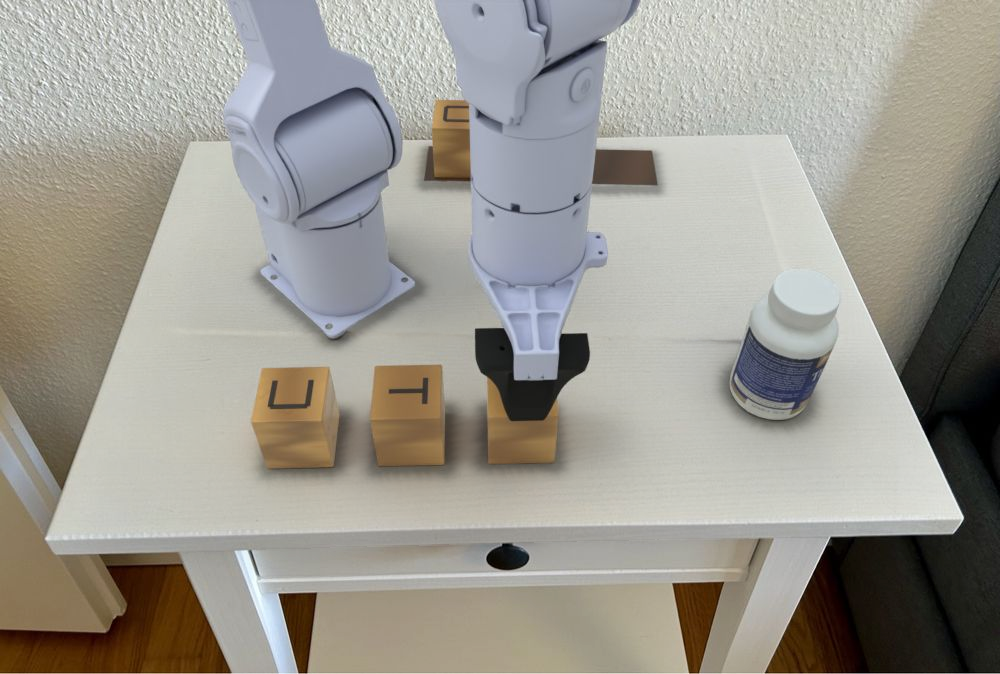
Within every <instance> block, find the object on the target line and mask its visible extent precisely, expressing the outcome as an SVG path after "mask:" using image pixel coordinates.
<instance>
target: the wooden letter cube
mask: <svg viewBox="0 0 1000 674" xmlns="http://www.w3.org/2000/svg"><path fill="white" fill-rule="evenodd" d="M558 402H559V401H558V397H557V398H556V400H555V402H554V405H553V407H552V409H551V410H550V412H549V414H548V416H547V417H546V419H545V420H543V421H510V420H509V418H508V416H507V414H506V412H505V409H504V406H503V403H502V400H501V397H500V394H499V391H498V389H497V387H496V385H495V384H494V383H493V382H492V380H490V379H489V378H488V377H487V376H486V421H487V427H486V428H487V460H488V461H487V462H488V465H503V464H506V465H507V464H508V465H510V464H552V463H553V464H554V463H555V458H556V449H557V437H558V428H559V419H560V413H559V403H558Z"/></svg>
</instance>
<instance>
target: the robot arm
mask: <svg viewBox="0 0 1000 674" xmlns="http://www.w3.org/2000/svg"><path fill="white" fill-rule="evenodd" d="M641 1H642V0H434V6H435V9H436V13H437V17H438V19H439V22H440V25H441V28H442V30H443V32H444V35H445V37H446V39H447V41H448V43H449V45H450V47H451V50H452V53H453V56H454V61H455V72H456V85H457V86H458V87H459V89H460V90H461V91H460V92H461V97H462V98H463V99H462V100H465V101H466V102H468V103H469V121H470V162H471V182H470V206H471V235H470V238H469V240H468V246H467V247H468V250H467V251H468V261H469V266H470V268H471V270H472V273H473V274H474V276H475V278H476V280H477V283H478V284H479V285H480V287H481V289H482V291H483V293H484V294H485V297H486V298H487V300H488V302H489V304H490V305H491V307H492V309H493V311H494V313H495V315H496V316H497V318H498V320H499V322H500V324H501V326H502V327H481V328H479V327H476V328H474V357H475V363H476V364H477V367H478V370H479V372H480V373H481V374H482V375H483V376H485V377H486V378H487V377H488V378H489V379H490V380H492V382H493V383H494V384H495V385H496V387H497V389H498V391H499V394H500V397H501V400H502V403H503V406H504V409H505V412H506V414H507V416H508V418H509V420H510V421H543V420H545V419H546V417H547V416H548V414H549V412H550V410H551V409H552V407H553V405H554V402H555V400H556V398H557V399H558V397H559V394H560V393H561V391H562V389H563V388H564V387H565V386H566V385H567V384H568V383H569V382H570V381H571V380H573V379H574V378H575V377H577V376H579V375H580V374H582V373H584V372H585V371H586V370H587V367H588V365H589V362H590V360H591V359H590V358H591V350H590V349H591V348H590V342H589V334H588V332H577V333H576V332H574V333H573V332H572V333H571V332H570V333H567V332H565V333H562V332H563V330H564V327H565V325H566V323H567V319H568V316H569V314H570V312H571V308H572V306H573V303H574V301H575V298H576V296H577V294H578V293H577V292H578V291H579V288H580V285H581V283H582V280H583V278H584V275H585V273H586V271H588V270H589V269H595V268H596V269H599V268H603V267H605V266H606V265H607V264H608V258H609V249H608V243H607V238H606V236H605V235H604V234H603V233H601V232H597V231H588V224H589V216H590V205H591V194H592V185H593V184H592V180H593V171H594V162H595V153H596V149H597V144H598V143H597V142H598V133H599V132H598V131H599V124H600V115H601V106H602V105H601V104H602V96H603V87H604V79H605V78H604V77H605V68H606V60H607V49H608V41H606V40H601V39H604V38H605V37H607V36H609V35H611V34H612V33H615V31H617V29H619V28H620V27H622V26H623V25H625V24H626V23H627V22H628V21H629V20H630V19H631V18H632V17H633V16H634V14H635V13H636V11H637V10H638V8H639V5H640V3H641ZM224 2H225V4H226V6H227V8H228V11H229V14H230V17H231V19H232V22H233V24H234V28H235V30H236V32H237V35H238V37H239V40H240V43H241V46H242V48H243V50H244V54H245V56H246V58H247V61H248V64H247V67H246V69H245V71H244V73H243V74H242V76H241V78H240V80H239V81H238V82H237V85H236V87H235V88H234V90H233V91H232V93H231V94H230V96H229V98H228V99H227V101H226V102H225V104H224V106H223V109H222V111H221V116H222V117H223V125H224V127H225V130H226V133H227V136H228V139H229V143H230V147H231V154H232V155H231V157H232V163H233V166H234V169H235V172H236V174H237V177H238V179H239V181H240V184H241V185H242V187H243V189H244V191H245V193H246V194H247V196H248V197H249V198H250V200H251V201H252V202H253V204H254V208H255V213H256V216H257V220H258V224H259V228H260V231H261V235H262V240H263V243H264V247H265V251H266V254H267V258H268V262H269V264H268V265H266V266H264V267H262V268H261V269H260V275H262V276H263V277H264V278H265V279H266V280H267V281H268V282H270V283H271V284H272V285H273V287H275V288H276V289H277V290H278V291H279V292H280V293H281V294H282V295H284V296H285V297H286V298H287V299H288V300H289V301H290V302H292V304H294V305H295V306H296V308H298V309H299V310H300V311H301V312H302V313H304V314H305V315H306V317H308V318H309V319H310V320H311V321H312V322H314V324H316V325H317V326H318V327H319V328H320V329H321V330H320V331H321V332H322V333H323V334H324V335H325V336H326V337H327V338H329V339H337V338H340V337H341V336H342V335H344V334H346V333H347V332H348V330H347V329H349V328H350V327H352V326H353V325H355V324H357V323H358V322H360V321H361V320H363V319H365V318H366V317H368V316H370V315H371V314H372V313H373V314H374V312H376V311H378V310H379V309H381V308H382V307H384V306H385V305H387V304H388V303H390V302H392V301H394V300H395V299H397V298H398V297H400V296H401V295H403V294H405V293H406V292H408V291H410V290H411V289H413V288H414V287H415V286H416V281H415V280H414V279H412V278H411V277H410V276H409V275H407V274H406V273H405V272H404V271H403V270H401V269H400V268H399V267H398V266H396V265H395V264H394V263H392V262H391V261H390V258H389V247H388V241H387V240H388V239H387V232H386V223H385V217H384V207H383V198H382V192H383V191H384V189H385V188H387V187H389V186H390V180H389V170H392V169H394V168H395V167H397V166H398V165H399V164H400V162H401V160H402V157H403V146H404V145H403V143H404V142H403V141H404V140H403V132H402V128H401V125H400V122H399V119H398V117H397V114H396V113H395V110H394V109H393V107H392V105H391V104H390V103H389V101H388V100H387V98H386V96H385V94H384V92H383V89H382V88H381V86H380V83H379V81H378V78H377V75H376V73H375V70H374V67H373V66H372V65H371V64H370V63H369V62H367V61H366V60H364V59H363V58H360V57H359V56H356V55H354V54H352V53H349V52H347V51H344V50H341V49H338V48H335V47H333V46H331V43H330V40H329V37H328V33H327V31H326V27H325V24H324V21H323V18H322V14H321V12H320V9H319V6H318V3H317V0H224ZM273 276H276V277H277V278H275V279H273V278H272V277H273ZM403 279H407V281H405V282H404V281H402V280H403ZM328 325H331V326H332V327H331V328H327V326H328Z"/></svg>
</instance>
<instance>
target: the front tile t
mask: <svg viewBox="0 0 1000 674" xmlns="http://www.w3.org/2000/svg"><path fill="white" fill-rule="evenodd" d="M443 373H444V371H443V365H442V364H406V365H405V364H403V365H402V364H400V365H398V364H397V365H375V366H374V370H373V381H372V393H371V404H370V415H369V423H370V427H371V433H372V439H373V444H374V449H375V454H376V461H377V466H378V467H407V466H410V467H411V466H444V465H445V456H446V455H445V452H446V451H445V450H446V449H445V447H446V446H445V445H446V406H445V402H446V401H445V389H444V375H443Z"/></svg>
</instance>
